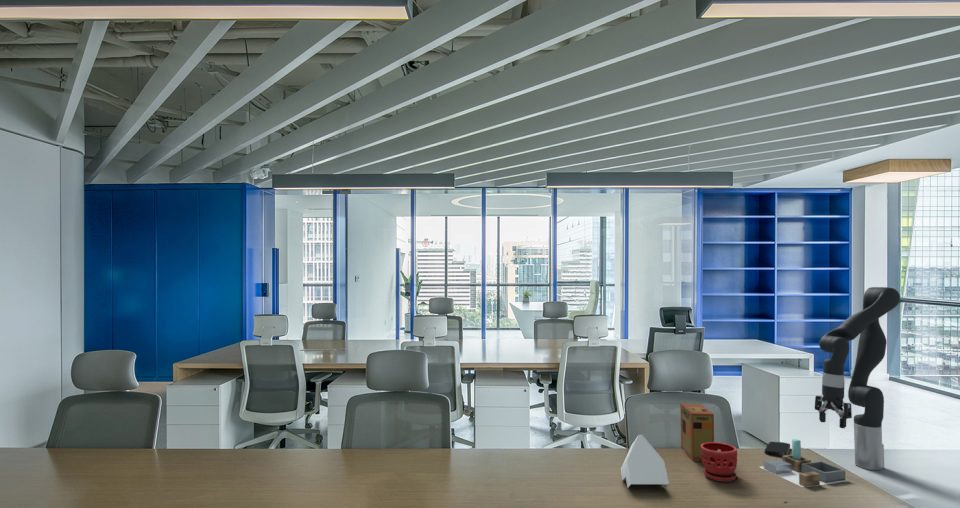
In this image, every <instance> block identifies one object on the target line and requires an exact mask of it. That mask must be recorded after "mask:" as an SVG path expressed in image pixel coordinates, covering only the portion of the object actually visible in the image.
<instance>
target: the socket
mask: <svg viewBox="0 0 960 508" xmlns="http://www.w3.org/2000/svg"><path fill="white" fill-rule="evenodd" d="M781 460H783V461H785V462H787V463H790V464H792V470H794V471H796V472H802V466H801V464H802V463H810V462H812V459H809V458H806V457H804V456H802V455H801V460H795V459H792V454H788V455H784V456H782V457H781Z"/></svg>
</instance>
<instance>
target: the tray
mask: <svg viewBox="0 0 960 508" xmlns="http://www.w3.org/2000/svg"><path fill="white" fill-rule="evenodd" d="M801 466H802V473H807V472H816V473H818V474H820V481H822V482H824V483H828V482H835V481H842V480H846V470H845V469H842V468H840V467H837V466H836V465H832V464H829V463H827V462H825V461H822V460H820V461H811V462H810V463H802V464H801Z"/></svg>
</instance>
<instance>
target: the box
mask: <svg viewBox="0 0 960 508" xmlns="http://www.w3.org/2000/svg"><path fill="white" fill-rule="evenodd" d="M708 442H715V415H714V413H713V412H712V411H710V410H709V409H708V407H705V406H704V405H703V404H701V403H680V448H681V449H682V450H683V451H684V450H685V451H684V452H685V454H686V455H687V456H688V457H689V458H690V460H691V461H692V460H693V461H694V462H702V458H701V444H703V443H708ZM712 451H713V450H712ZM693 461H692V462H693Z"/></svg>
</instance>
